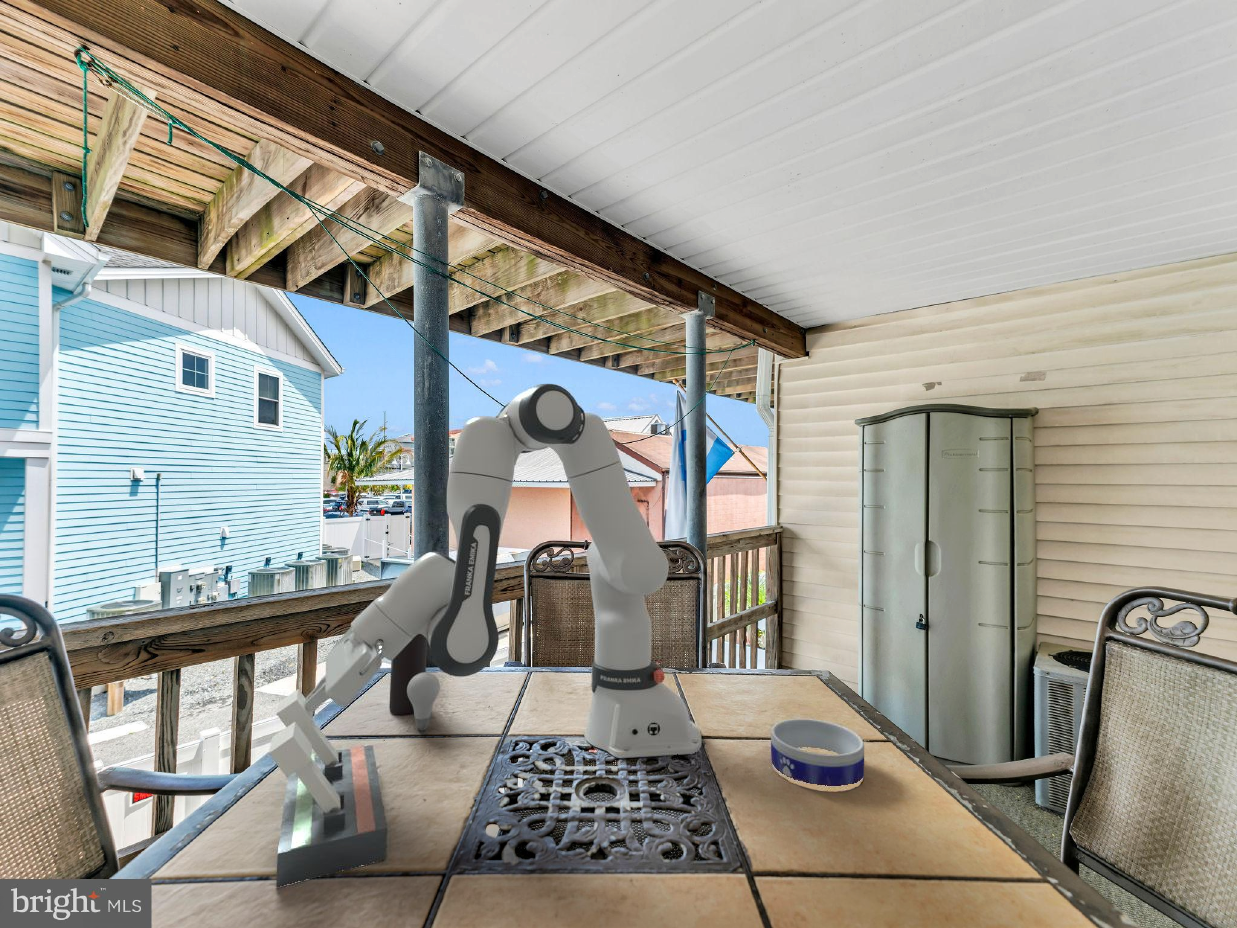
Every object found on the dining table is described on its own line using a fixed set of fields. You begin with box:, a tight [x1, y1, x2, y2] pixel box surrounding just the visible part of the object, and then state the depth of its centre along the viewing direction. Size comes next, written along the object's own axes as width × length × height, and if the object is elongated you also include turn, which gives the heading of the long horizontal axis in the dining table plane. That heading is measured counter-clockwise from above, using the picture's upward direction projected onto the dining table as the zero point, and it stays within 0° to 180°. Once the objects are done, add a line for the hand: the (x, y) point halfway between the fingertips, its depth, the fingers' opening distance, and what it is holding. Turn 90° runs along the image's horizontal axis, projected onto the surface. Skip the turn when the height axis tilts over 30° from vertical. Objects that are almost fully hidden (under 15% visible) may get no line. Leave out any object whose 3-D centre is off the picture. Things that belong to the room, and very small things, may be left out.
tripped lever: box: [276, 688, 339, 765], centre depth 86 cm, size 3×5×13 cm
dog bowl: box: [770, 718, 865, 786], centre depth 98 cm, size 15×15×6 cm
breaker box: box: [275, 744, 388, 888], centre depth 81 cm, size 12×26×5 cm, turn 27°
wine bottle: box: [388, 567, 428, 716], centre depth 122 cm, size 7×7×30 cm
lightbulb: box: [407, 671, 441, 731], centre depth 111 cm, size 6×6×11 cm
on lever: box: [268, 722, 340, 813], centre depth 74 cm, size 3×5×13 cm
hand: (308, 706), depth 86 cm, fingers closed, pressing on tripped lever
